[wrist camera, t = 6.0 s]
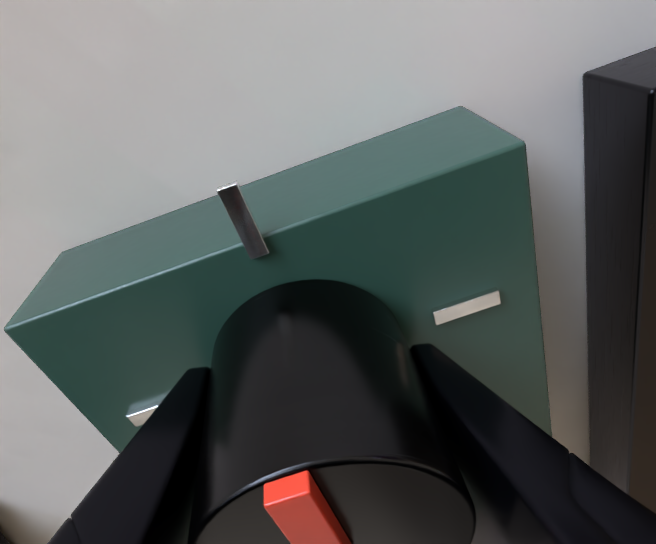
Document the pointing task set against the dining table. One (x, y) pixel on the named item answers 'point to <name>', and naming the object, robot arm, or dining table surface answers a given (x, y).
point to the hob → (622, 271)
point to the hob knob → (322, 429)
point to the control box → (308, 269)
